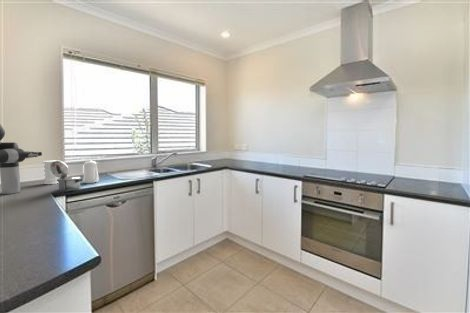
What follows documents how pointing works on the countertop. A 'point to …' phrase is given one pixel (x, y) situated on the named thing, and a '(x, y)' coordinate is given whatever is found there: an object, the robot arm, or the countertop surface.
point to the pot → (69, 183)
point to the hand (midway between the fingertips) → (40, 153)
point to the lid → (59, 169)
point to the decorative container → (49, 173)
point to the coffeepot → (90, 172)
